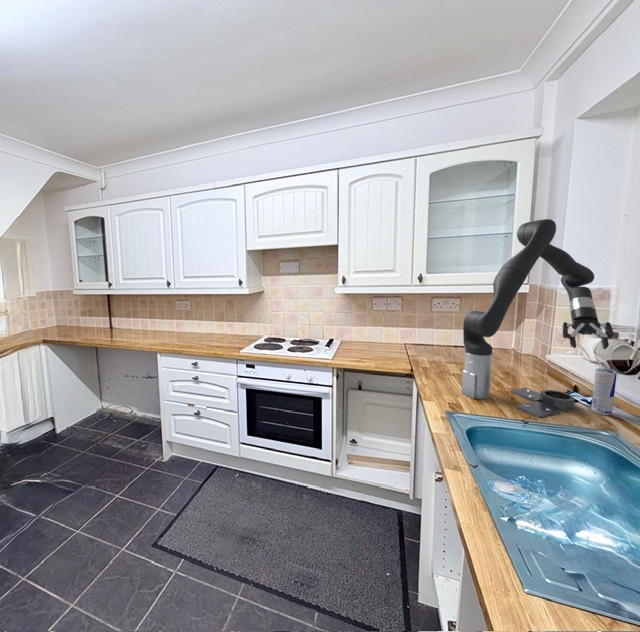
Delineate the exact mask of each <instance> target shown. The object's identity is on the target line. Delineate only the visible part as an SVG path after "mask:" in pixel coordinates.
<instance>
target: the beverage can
mask: <svg viewBox="0 0 640 632" xmlns="http://www.w3.org/2000/svg"><path fill="white" fill-rule="evenodd" d="M616 383H617V371H615V370H613V369H609V368H608V369H607V368H602V367H601V368H596V369H595V373H594V379H593V389H592V391H593V392H592V399H591V407H590V408H591V410H592V411H593V412H594V413H595V414H598V415H601V416H609V415H611V414H613V408H614V401H615V400H614V399H615V391H616V390H615V389H616V386H617V385H616Z"/></svg>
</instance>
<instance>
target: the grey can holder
mask: <svg viewBox="0 0 640 632" xmlns="http://www.w3.org/2000/svg"><path fill="white" fill-rule="evenodd" d="M510 393H511V394H513V395H517V396H518V397H521V398H524V399H526V400H529V401H531V402H527V403H523V404H517V405H516V406H515V408H516V409H518V410H520V411H523V412H525V413H527V414H530V415H532V416H534V417H536V418H538V419H540V418H545V417H549V416H553V415H556V414H557V415H558V414H560V413H561V412H565V413H568V412H572V411H575V405H576V403H575V402H576V398H575V397H574V396H573V395H572V394H570V393H566V392H563V391H559V390H554V389H545V390H541V391H540V392H538V391H535V390H533V389H530V388H527V387H521V388H516V389H511V390H510Z"/></svg>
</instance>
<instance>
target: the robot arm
mask: <svg viewBox="0 0 640 632" xmlns="http://www.w3.org/2000/svg"><path fill="white" fill-rule="evenodd" d="M556 232H557V224H556V222H555V221H554V220H553V219H550V218H545V219H544V218H543V219H538V220H537V219H536V220H533V221H528V222H524V223H522V224H521V225H520V226H519V227H518V229H517V232H516V238H517V240H518V242H519V243H520V244H521V245H522V246H524V248H523V249H521V251H519V252H518V253H516V254H515V255H514V256H512V257H511V258H510V259H508V260H507V261H506V262H505V263H503V265H502V266H501V268H500V269H499V271H498V273H497V275H496V276H495V277H494V280H493V282H492V283H493V284H492V286H493V287H492V289H493V299H492V302H491V304H490V306H489V307H488V309H487V310H486V311H479V310H471V311H469V312H467V314H466V315H465V317H464V319H463V325H462V326H463V329H462V330H463V331H462V332H463V345H464V348H465V351H464V352H465V353H464V369H463V370H462V372H461V374H462V375H461V376H462V377H461V394H463V395H464V396H466V397H469V398H470V399H473V400H476V399H478V400H486V399H488V398H490V397H491V396H490V395H491V379H492V377H491V376H492V363H493V347H492V345H491V344H490V343H488V342H487V341H486V340H485V338H491V337H493V336H494V335H495V334H496V333H497V332H498V331H499V329H500V327H501V326H502V323H503V321H504V318H505V316H506V314H507V312H508V310H509V307H510V306H511V304H512V302H513V300H514V298H515V297H516V295H517V293H518V292H519V290H520V289H521V288H522V286H523V284H524V282H525V281H526V279H527V277H528V275H529V274H530V271H531V270H532V269H533V267H534V265H535V264H536V262H537V261H538V260H539V258H541V259H543V260H544V261H545V262H547V263H548V264H549V265H550V267H552V269H554V270H555V272H557V274H558V275H560V276H561V277H560V283H561V284H562V286H563V288H564V289H565V290H566V293H567V295H568V299H569V312H570V317H571V322H572V323H568V322H566V321H564V322H563V324H562V326H561V327H562V338H563V339H569V344H570V347H571V348H573V349H576V348H577V340H576V337H577V336H578V335H579V334H580V335H589V336H591V335H594V336H595V337H596V338H599V339H600V340H601V346H602V350H606V349H607V348H609V346H610V343H609V340H612V339H613V338H614V336H615V333H614V331H613V327H612V324H611V322H609V321H607V322H606V323H600V322H599V317H598V315H597V309H596V304H595V303H594V299H593V295H592V294H593V293H592V291H591V289H590V288H589V287H587V286H586V285H588V284H591V283H593V281H594V280H595V273H594V272H593V270H591V269H590V268H589V267H588V266H585V265H583V264H582V263H579V262H577V260H575V259H574V258H573V257H572V256H571V255H570V254H569V253H568V252H567V251H565V250H563V249H561V248H559V247H557V246H555V245H552V244H551V242H552V241H553V239H554V237H555V236H556ZM570 328H572V329H573V331H572V333H569V330H570ZM601 328H602V329H603V330H605V332H603V330H602V329H601Z"/></svg>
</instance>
